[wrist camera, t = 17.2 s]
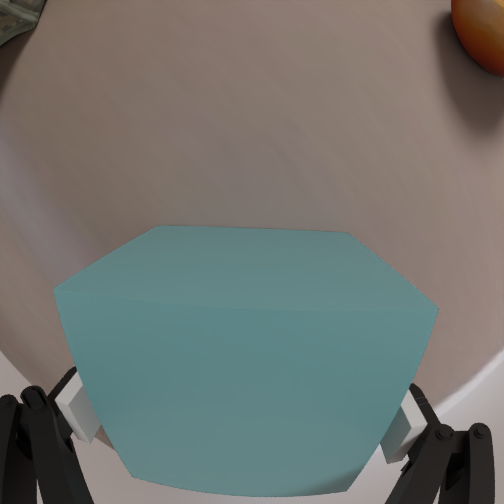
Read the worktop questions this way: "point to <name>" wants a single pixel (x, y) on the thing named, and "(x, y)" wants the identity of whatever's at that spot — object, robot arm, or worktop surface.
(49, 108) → the worktop surface
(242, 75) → the worktop surface
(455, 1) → the fruit
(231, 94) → the worktop surface
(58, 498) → the robot arm
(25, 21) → the bag
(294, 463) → the teal toy cube
